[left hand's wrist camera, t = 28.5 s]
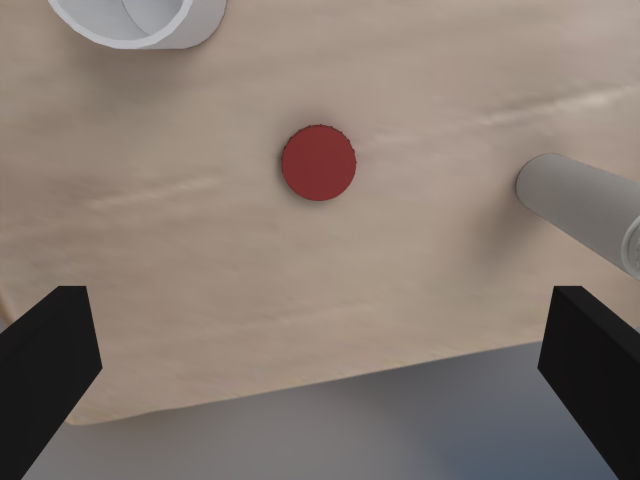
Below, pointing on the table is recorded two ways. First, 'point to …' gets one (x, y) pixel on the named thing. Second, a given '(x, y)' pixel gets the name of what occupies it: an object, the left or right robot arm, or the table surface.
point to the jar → (586, 206)
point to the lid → (318, 163)
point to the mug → (143, 21)
